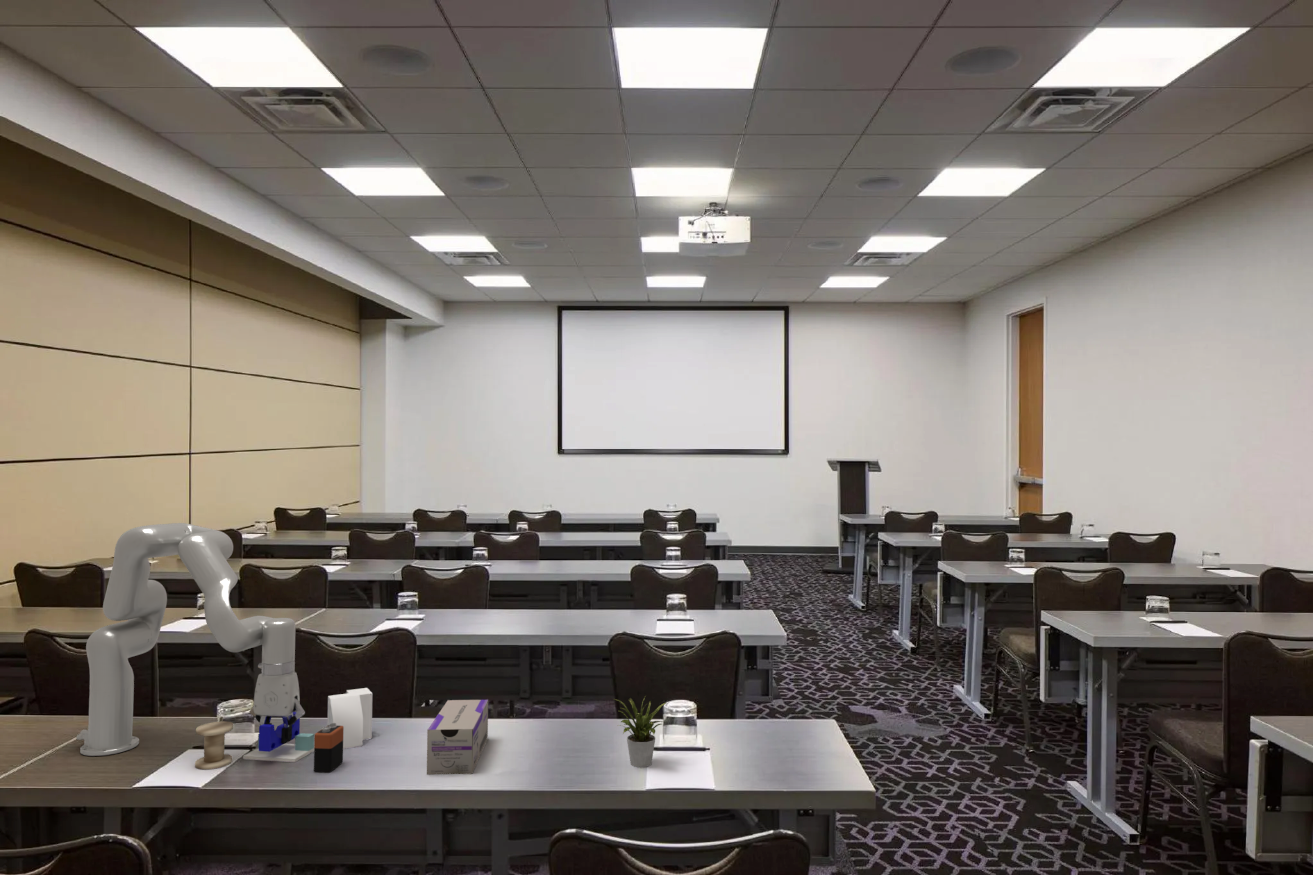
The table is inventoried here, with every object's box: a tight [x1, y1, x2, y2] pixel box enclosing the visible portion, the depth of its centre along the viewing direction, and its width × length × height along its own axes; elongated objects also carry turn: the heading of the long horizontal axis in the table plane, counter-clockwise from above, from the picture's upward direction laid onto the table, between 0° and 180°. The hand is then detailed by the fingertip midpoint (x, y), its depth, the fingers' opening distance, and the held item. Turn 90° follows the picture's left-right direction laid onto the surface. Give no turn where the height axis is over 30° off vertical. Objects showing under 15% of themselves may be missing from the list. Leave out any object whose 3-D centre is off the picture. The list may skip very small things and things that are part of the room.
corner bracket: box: [326, 687, 373, 750], centre depth 215 cm, size 11×11×12 cm
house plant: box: [614, 695, 668, 768], centre depth 199 cm, size 14×14×16 cm
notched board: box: [242, 732, 315, 763], centre depth 205 cm, size 14×10×4 cm
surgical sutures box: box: [426, 699, 489, 776], centre depth 204 cm, size 25×11×11 cm, turn 4°
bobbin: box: [194, 721, 234, 771], centre depth 198 cm, size 8×8×9 cm
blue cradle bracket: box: [258, 712, 301, 752], centre depth 204 cm, size 12×4×6 cm, turn 170°
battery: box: [313, 723, 344, 773], centre depth 196 cm, size 4×7×10 cm, turn 176°
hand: (276, 740), depth 203 cm, fingers closed on blue cradle bracket, 4 cm apart
